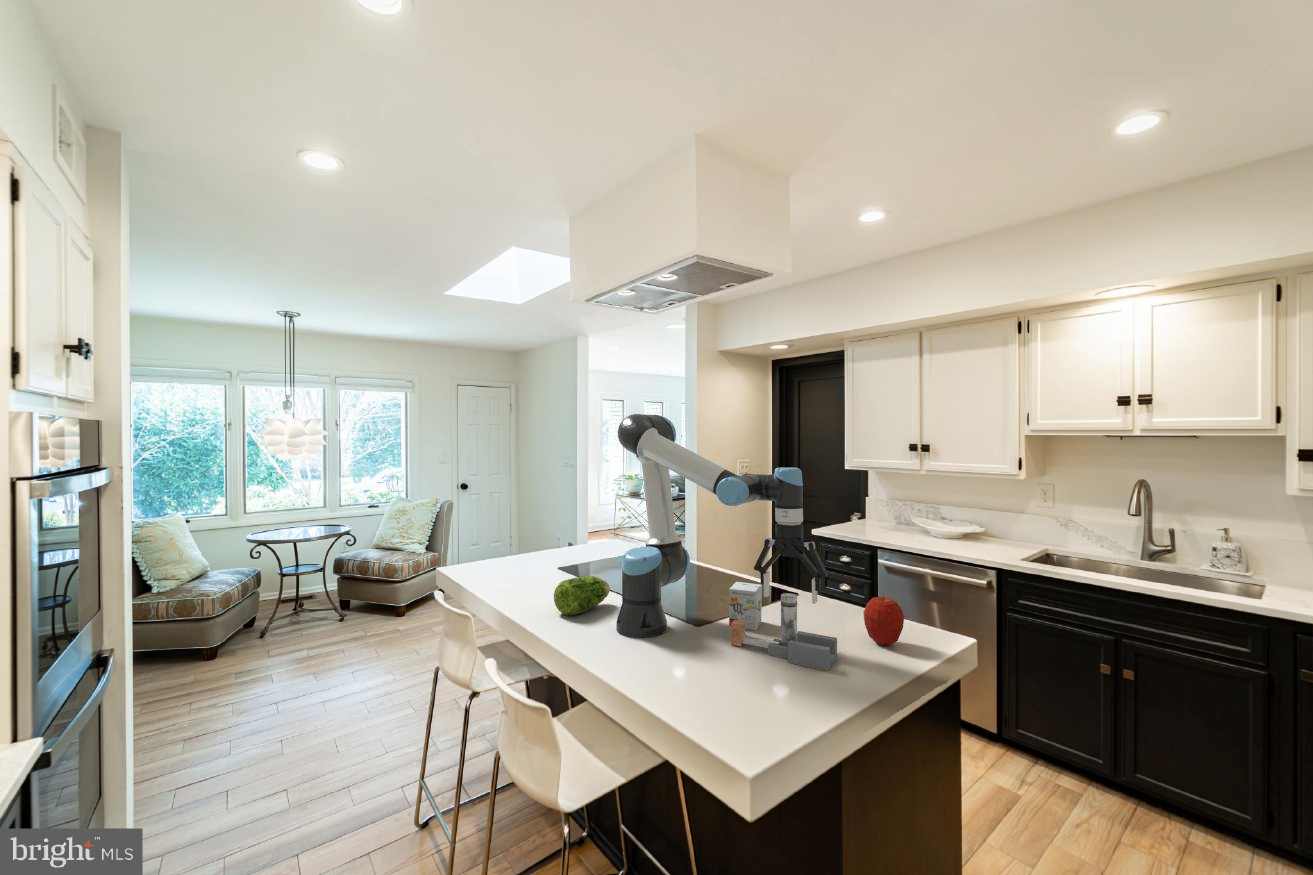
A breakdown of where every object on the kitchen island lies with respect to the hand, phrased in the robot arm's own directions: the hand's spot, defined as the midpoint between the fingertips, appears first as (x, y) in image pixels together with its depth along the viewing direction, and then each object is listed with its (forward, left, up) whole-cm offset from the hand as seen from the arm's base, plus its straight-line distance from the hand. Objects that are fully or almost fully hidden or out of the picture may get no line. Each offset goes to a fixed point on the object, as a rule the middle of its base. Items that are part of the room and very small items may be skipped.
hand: (790, 599), depth 155 cm
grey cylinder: (0, 0, -12) cm, 12 cm away
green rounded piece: (-67, -6, -12) cm, 69 cm away
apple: (+23, +12, -12) cm, 28 cm away
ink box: (-16, +8, -12) cm, 22 cm away
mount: (+6, -9, -12) cm, 16 cm away
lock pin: (-7, -9, -12) cm, 16 cm away
